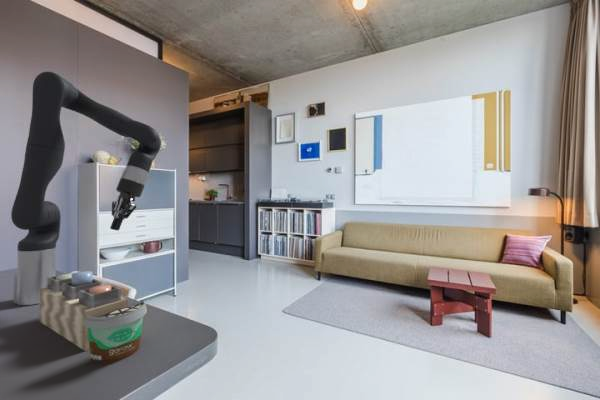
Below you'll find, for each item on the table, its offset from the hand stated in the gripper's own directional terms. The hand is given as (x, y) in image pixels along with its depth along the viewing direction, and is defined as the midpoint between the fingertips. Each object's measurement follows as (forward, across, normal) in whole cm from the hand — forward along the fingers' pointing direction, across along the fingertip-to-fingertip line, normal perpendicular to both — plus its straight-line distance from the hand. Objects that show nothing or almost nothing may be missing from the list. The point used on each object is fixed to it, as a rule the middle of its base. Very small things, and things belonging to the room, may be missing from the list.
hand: (114, 229), depth 91 cm
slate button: (+16, +14, -8) cm, 22 cm away
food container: (+26, +36, -5) cm, 45 cm away
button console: (+26, +14, -5) cm, 30 cm away
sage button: (+18, +4, -8) cm, 20 cm away
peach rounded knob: (+17, +24, -7) cm, 30 cm away
